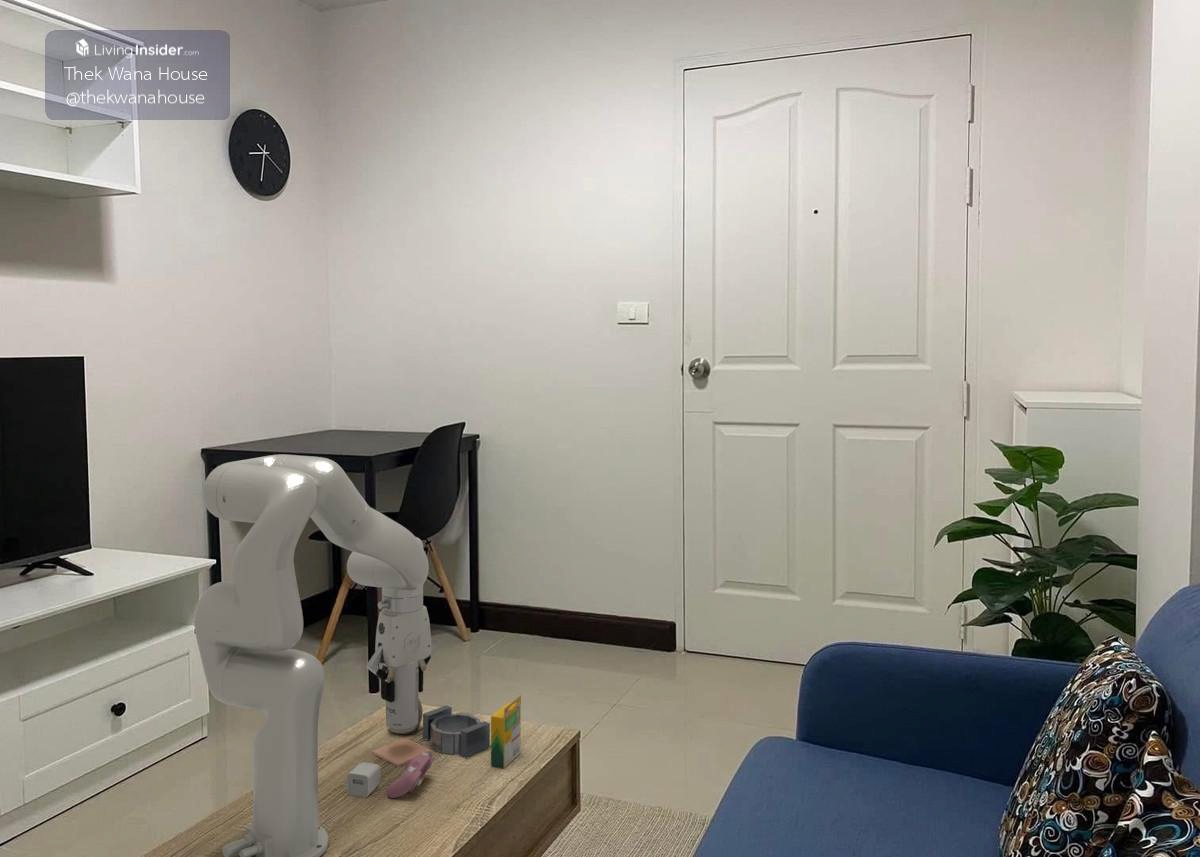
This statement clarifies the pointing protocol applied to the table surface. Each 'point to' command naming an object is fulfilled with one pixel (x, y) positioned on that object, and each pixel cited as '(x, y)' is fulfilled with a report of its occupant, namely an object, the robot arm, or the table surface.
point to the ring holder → (455, 732)
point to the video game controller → (411, 776)
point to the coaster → (400, 751)
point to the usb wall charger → (363, 779)
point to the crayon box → (506, 734)
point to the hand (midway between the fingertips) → (402, 694)
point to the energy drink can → (404, 699)
